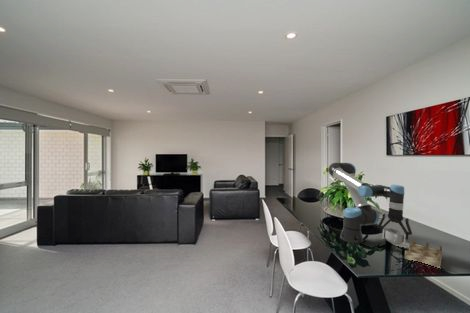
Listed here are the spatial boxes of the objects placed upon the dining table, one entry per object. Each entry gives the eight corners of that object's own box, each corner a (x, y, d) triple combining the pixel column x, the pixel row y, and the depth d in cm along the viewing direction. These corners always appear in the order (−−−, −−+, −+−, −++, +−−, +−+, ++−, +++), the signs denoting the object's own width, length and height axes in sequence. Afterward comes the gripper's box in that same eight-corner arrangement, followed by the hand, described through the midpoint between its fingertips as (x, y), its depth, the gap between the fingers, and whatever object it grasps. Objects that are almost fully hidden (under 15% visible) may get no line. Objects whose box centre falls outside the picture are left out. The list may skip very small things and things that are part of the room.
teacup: (384, 237, 152) (385, 226, 152) (404, 242, 145) (405, 230, 145) (383, 244, 141) (383, 232, 141) (404, 249, 134) (404, 236, 134)
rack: (404, 258, 133) (405, 246, 133) (409, 249, 146) (409, 238, 146) (440, 269, 122) (440, 255, 121) (441, 258, 135) (442, 245, 135)
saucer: (389, 244, 155) (389, 242, 155) (392, 240, 163) (392, 237, 163) (410, 250, 146) (410, 247, 146) (412, 245, 154) (413, 242, 154)
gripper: (374, 205, 148) (372, 236, 149) (418, 213, 131) (415, 248, 132) (376, 203, 153) (375, 233, 154) (419, 211, 136) (417, 245, 137)
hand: (393, 240), depth 143 cm, fingers closed on teacup, 11 cm apart
